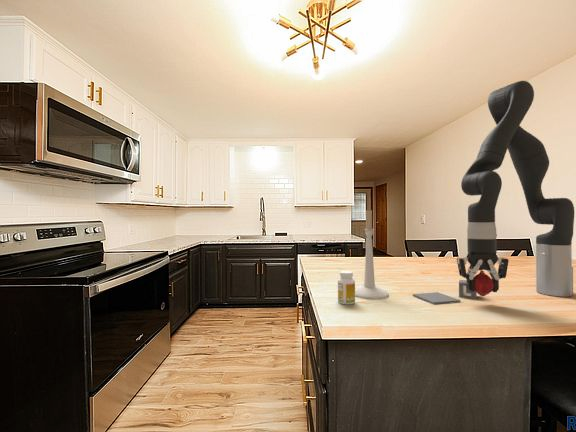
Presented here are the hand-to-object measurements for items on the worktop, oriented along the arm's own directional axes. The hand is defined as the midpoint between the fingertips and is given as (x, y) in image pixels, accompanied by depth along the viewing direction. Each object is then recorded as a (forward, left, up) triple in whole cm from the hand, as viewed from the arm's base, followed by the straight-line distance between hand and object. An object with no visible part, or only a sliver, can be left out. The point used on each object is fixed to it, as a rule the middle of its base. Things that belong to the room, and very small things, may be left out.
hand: (482, 291), depth 91 cm
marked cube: (-3, -9, -4) cm, 10 cm away
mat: (+9, -9, -4) cm, 14 cm away
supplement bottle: (+39, -13, -4) cm, 42 cm away
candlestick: (+27, -20, -4) cm, 34 cm away
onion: (0, 0, -2) cm, 2 cm away
